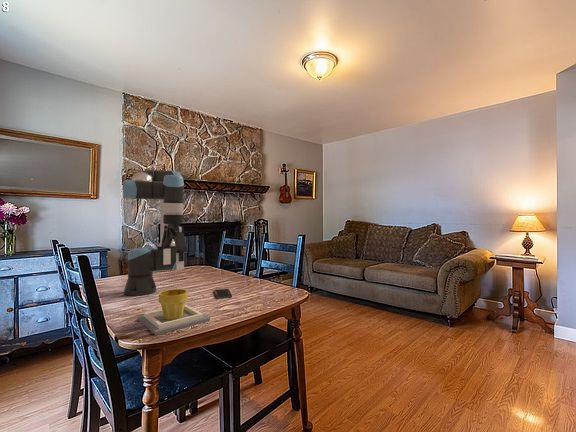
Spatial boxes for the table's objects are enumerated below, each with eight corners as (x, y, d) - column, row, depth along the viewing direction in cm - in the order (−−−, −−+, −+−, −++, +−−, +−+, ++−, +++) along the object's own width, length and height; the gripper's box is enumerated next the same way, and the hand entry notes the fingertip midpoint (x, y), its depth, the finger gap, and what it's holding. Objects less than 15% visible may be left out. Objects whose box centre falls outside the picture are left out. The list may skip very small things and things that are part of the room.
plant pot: (163, 324, 106) (164, 297, 106) (154, 316, 113) (154, 291, 113) (191, 317, 112) (191, 292, 112) (181, 311, 120) (181, 287, 120)
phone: (216, 297, 141) (213, 289, 156) (216, 299, 141) (213, 291, 156) (232, 296, 144) (228, 288, 158) (232, 298, 144) (228, 290, 158)
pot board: (137, 319, 113) (137, 312, 113) (187, 308, 127) (187, 302, 127) (155, 335, 99) (155, 327, 99) (209, 320, 112) (209, 314, 112)
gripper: (196, 214, 110) (196, 270, 111) (171, 213, 129) (170, 261, 129) (176, 214, 105) (176, 273, 106) (153, 213, 124) (153, 263, 124)
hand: (173, 266), depth 118 cm, fingers open, 13 cm apart
